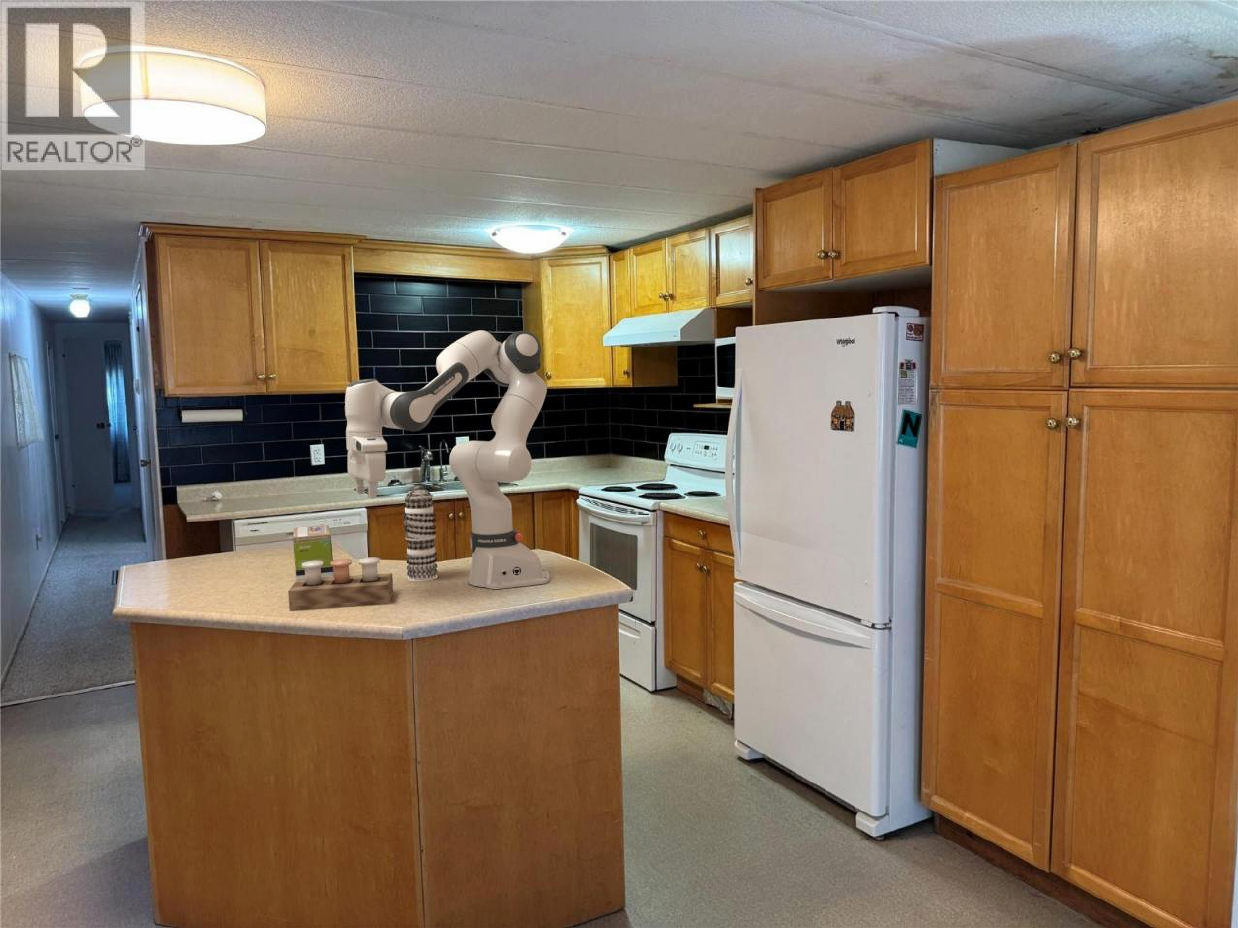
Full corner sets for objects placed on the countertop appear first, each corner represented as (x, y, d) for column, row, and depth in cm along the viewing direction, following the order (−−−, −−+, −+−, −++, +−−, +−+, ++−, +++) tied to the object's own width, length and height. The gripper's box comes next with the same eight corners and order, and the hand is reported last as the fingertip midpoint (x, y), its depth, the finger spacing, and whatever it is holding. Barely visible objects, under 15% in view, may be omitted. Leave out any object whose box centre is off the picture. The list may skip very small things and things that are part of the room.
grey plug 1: (325, 579, 217) (324, 559, 216) (322, 584, 212) (321, 564, 211) (304, 581, 216) (303, 561, 215) (301, 586, 211) (299, 565, 210)
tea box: (296, 576, 242) (293, 526, 241) (333, 573, 246) (329, 523, 244) (296, 589, 228) (292, 536, 227) (334, 585, 232) (331, 532, 230)
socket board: (393, 591, 224) (392, 573, 223) (389, 603, 212) (388, 584, 211) (299, 597, 219) (297, 579, 219) (289, 610, 208) (288, 590, 207)
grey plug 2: (381, 576, 219) (380, 556, 219) (379, 581, 214) (378, 561, 213) (361, 577, 218) (359, 557, 218) (358, 582, 213) (357, 562, 213)
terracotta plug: (353, 578, 218) (352, 558, 217) (351, 583, 213) (350, 562, 212) (333, 579, 217) (331, 559, 216) (329, 584, 212) (328, 564, 211)
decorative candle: (402, 582, 233) (397, 493, 230) (410, 574, 242) (405, 489, 239) (435, 581, 233) (431, 493, 230) (441, 573, 242) (437, 488, 239)
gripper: (340, 440, 222) (342, 492, 223) (364, 445, 205) (366, 501, 206) (364, 439, 225) (366, 490, 226) (389, 444, 208) (391, 499, 210)
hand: (366, 495), depth 216 cm, fingers open, 8 cm apart
